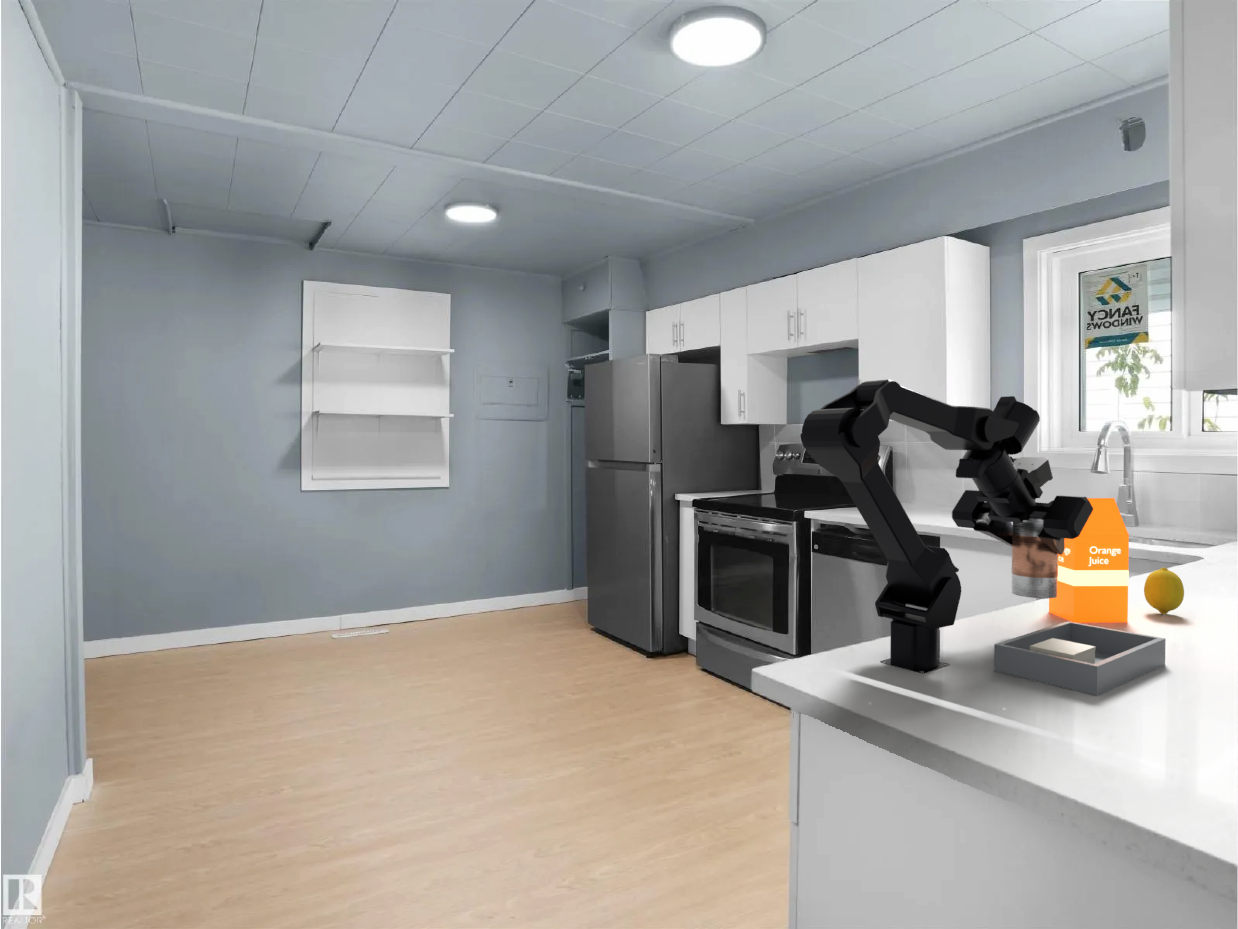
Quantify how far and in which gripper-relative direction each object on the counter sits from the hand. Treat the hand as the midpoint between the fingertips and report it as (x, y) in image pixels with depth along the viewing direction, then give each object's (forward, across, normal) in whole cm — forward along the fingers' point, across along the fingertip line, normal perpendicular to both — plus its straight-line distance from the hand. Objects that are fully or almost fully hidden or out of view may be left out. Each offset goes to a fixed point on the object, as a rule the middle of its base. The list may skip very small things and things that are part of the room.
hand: (1040, 549), depth 115 cm
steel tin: (+4, 0, +6) cm, 7 cm away
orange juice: (+23, +4, -4) cm, 24 cm away
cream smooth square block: (-3, -13, +21) cm, 25 cm away
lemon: (+32, -2, -14) cm, 35 cm away
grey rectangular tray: (+1, -13, +18) cm, 22 cm away
